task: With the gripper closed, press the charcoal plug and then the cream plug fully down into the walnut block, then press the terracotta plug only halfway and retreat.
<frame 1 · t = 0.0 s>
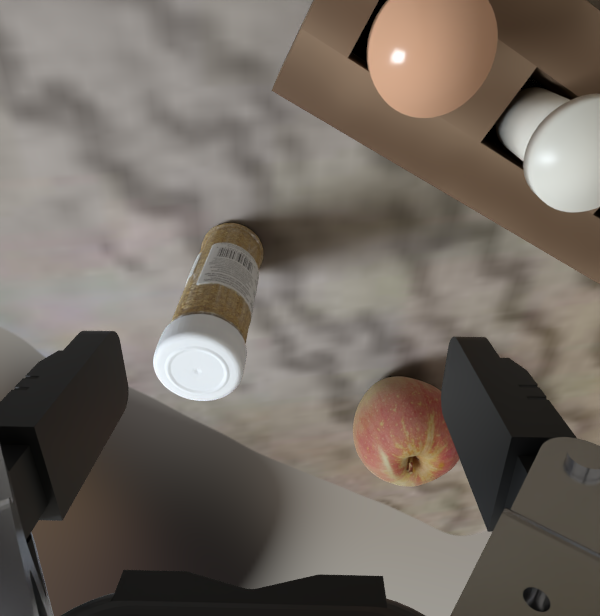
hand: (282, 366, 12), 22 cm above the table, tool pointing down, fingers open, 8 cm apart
cream plug: (554, 137, 22), point 8 cm above the table, slide at 0.0 cm
apple: (399, 393, 43), on the table
terracotta plug: (415, 42, 20), point 8 cm above the table, slide at 0.0 cm
walnut block: (499, 103, 29), on the table
sprinkles bottle: (234, 248, 35), on the table
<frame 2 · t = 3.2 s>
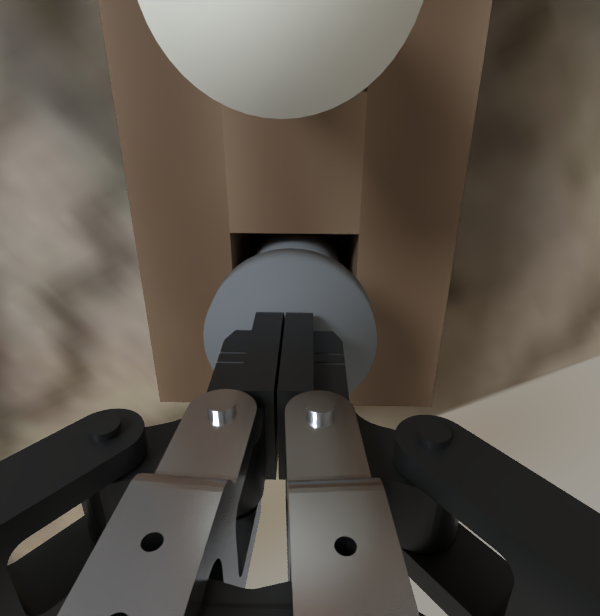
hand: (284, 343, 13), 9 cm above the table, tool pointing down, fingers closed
walnut block: (299, 27, 17), on the table
charcoal plug: (294, 290, 16), point 6 cm above the table, slide at 2.2 cm, touching gripper
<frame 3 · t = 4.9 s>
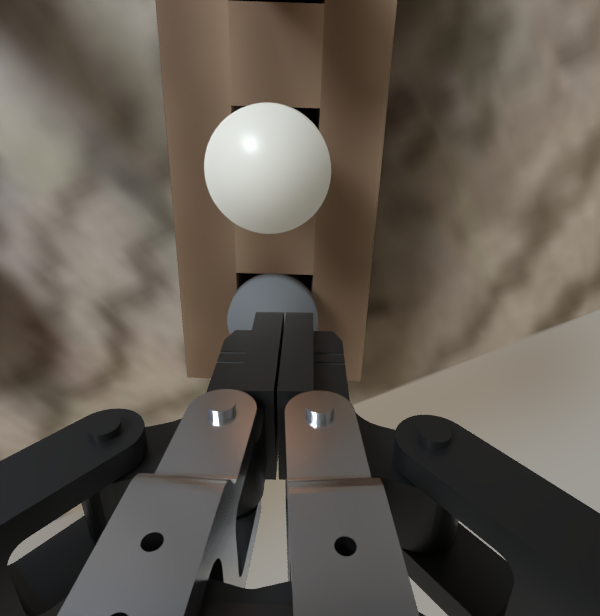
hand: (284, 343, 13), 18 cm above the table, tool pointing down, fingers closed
cream plug: (273, 159, 20), point 8 cm above the table, slide at 0.0 cm
walnut block: (280, 140, 28), on the table
charcoal plug: (276, 295, 27), point 4 cm above the table, slide at 3.8 cm
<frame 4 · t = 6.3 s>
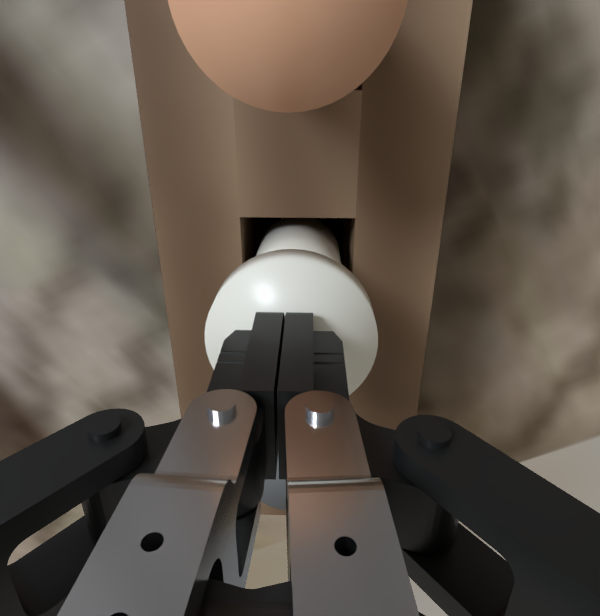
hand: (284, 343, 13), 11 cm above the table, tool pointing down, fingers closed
cream plug: (295, 290, 16), point 8 cm above the table, slide at 0.3 cm, touching gripper
terracotta plug: (294, 5, 12), point 8 cm above the table, slide at 0.0 cm
walnut block: (301, 225, 23), on the table
charcoal plug: (299, 415, 22), point 4 cm above the table, slide at 3.8 cm
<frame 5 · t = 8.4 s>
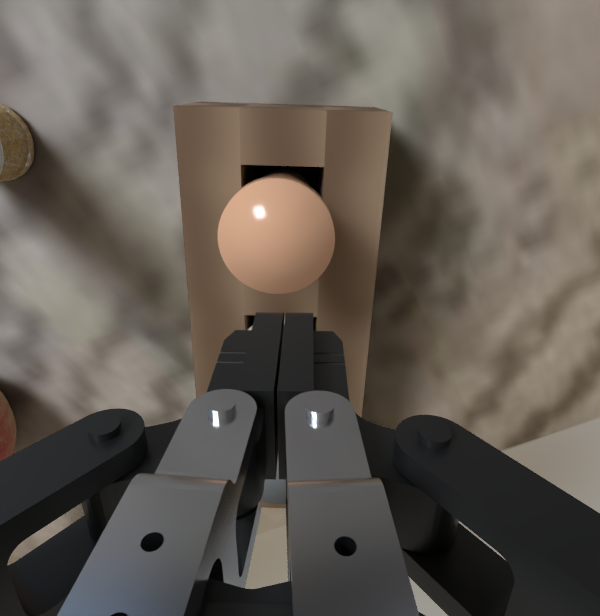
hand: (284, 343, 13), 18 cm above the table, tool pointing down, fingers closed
cream plug: (281, 332, 29), point 4 cm above the table, slide at 3.8 cm
terracotta plug: (280, 217, 22), point 8 cm above the table, slide at 0.0 cm
walnut block: (284, 303, 32), on the table
sprinkles bottle: (0, 141, 28), on the table
charcoal plug: (280, 437, 32), point 4 cm above the table, slide at 3.8 cm
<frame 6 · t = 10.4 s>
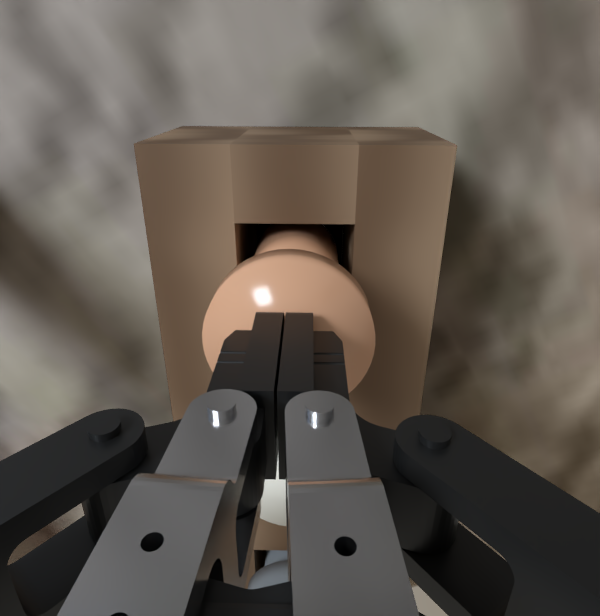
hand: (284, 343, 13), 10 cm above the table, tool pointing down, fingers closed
cream plug: (296, 426, 22), point 4 cm above the table, slide at 3.8 cm
terracotta plug: (293, 290, 16), point 7 cm above the table, slide at 1.1 cm, touching gripper
walnut block: (299, 375, 26), on the table
charcoal plug: (296, 546, 25), point 4 cm above the table, slide at 3.8 cm
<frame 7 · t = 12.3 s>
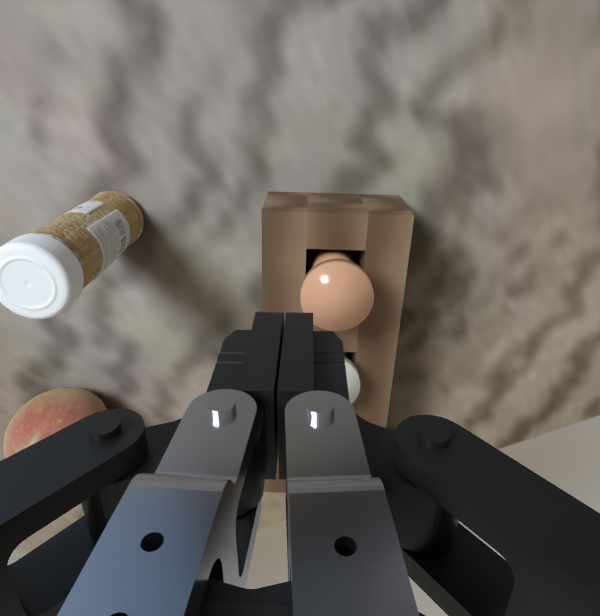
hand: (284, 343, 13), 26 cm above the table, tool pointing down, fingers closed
cream plug: (327, 361, 38), point 4 cm above the table, slide at 3.8 cm
apple: (83, 409, 46), on the table
terracotta plug: (334, 277, 33), point 6 cm above the table, slide at 1.8 cm
walnut block: (325, 336, 42), on the table
sprinkles bottle: (117, 218, 38), on the table
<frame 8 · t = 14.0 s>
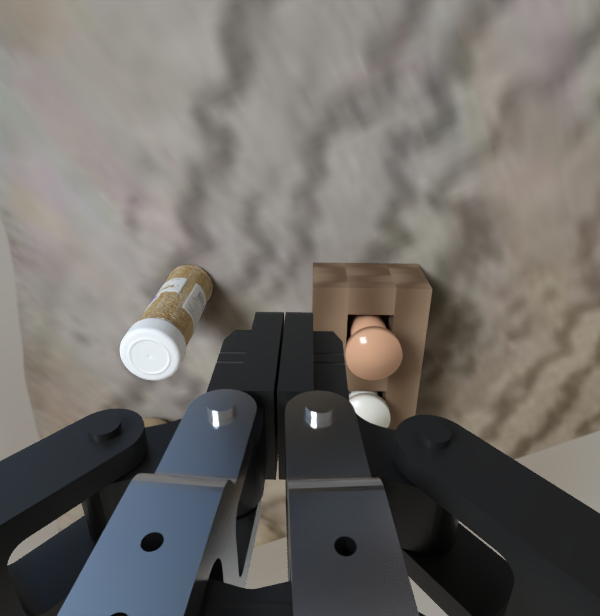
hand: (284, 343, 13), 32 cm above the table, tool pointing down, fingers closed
cream plug: (361, 396, 47), point 4 cm above the table, slide at 3.8 cm
terracotta plug: (369, 335, 42), point 6 cm above the table, slide at 1.8 cm
walnut block: (358, 373, 51), on the table
sprinkles bottle: (191, 284, 47), on the table
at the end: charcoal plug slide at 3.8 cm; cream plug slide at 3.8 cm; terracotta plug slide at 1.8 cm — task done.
